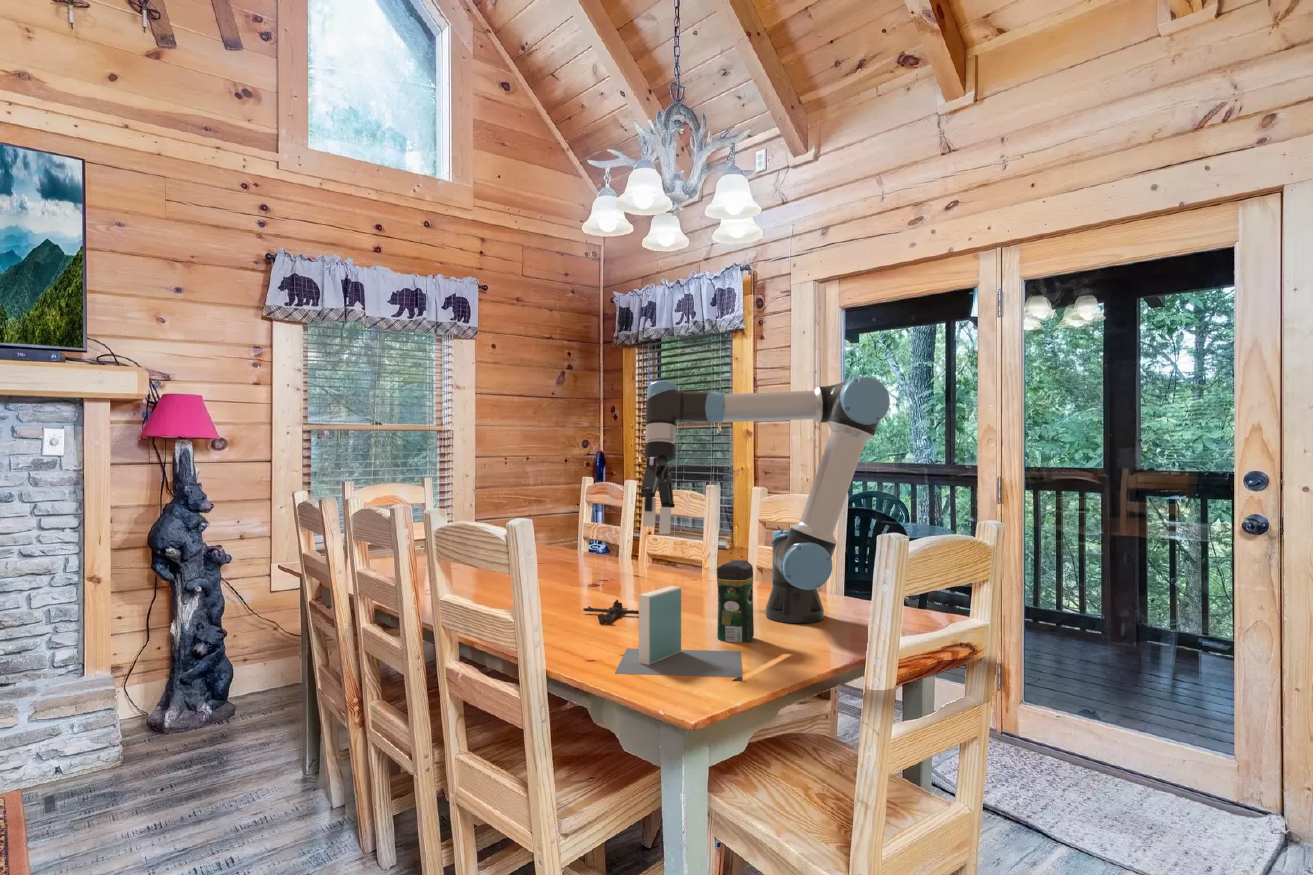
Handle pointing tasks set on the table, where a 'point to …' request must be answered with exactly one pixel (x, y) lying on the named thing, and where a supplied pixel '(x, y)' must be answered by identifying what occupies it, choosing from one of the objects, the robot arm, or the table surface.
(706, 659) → the mat
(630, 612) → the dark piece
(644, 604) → the tile
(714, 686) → the table surface
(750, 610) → the coffee jar
